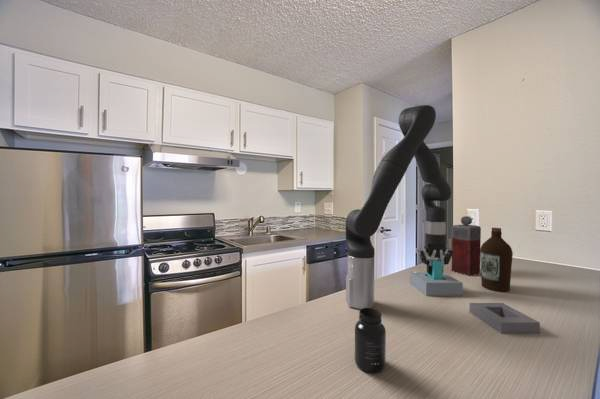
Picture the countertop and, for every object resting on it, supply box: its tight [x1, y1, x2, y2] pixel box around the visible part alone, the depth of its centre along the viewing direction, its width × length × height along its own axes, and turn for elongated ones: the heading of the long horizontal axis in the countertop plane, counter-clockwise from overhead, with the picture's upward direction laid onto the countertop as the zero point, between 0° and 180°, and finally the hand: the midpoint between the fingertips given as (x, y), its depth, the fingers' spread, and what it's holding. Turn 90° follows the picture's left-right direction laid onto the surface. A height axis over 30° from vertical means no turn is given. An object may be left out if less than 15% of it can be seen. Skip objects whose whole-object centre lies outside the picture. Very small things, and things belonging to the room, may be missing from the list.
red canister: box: [450, 215, 482, 277], centre depth 128 cm, size 9×11×28 cm
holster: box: [468, 302, 541, 334], centre depth 78 cm, size 11×13×3 cm
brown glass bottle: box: [480, 227, 514, 293], centre depth 106 cm, size 11×11×25 cm
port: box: [409, 271, 464, 297], centre depth 105 cm, size 14×14×5 cm
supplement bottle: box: [354, 307, 387, 374], centre depth 58 cm, size 7×7×12 cm
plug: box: [427, 258, 444, 280], centre depth 105 cm, size 4×5×10 cm
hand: (435, 274), depth 105 cm, fingers closed on plug, 3 cm apart
